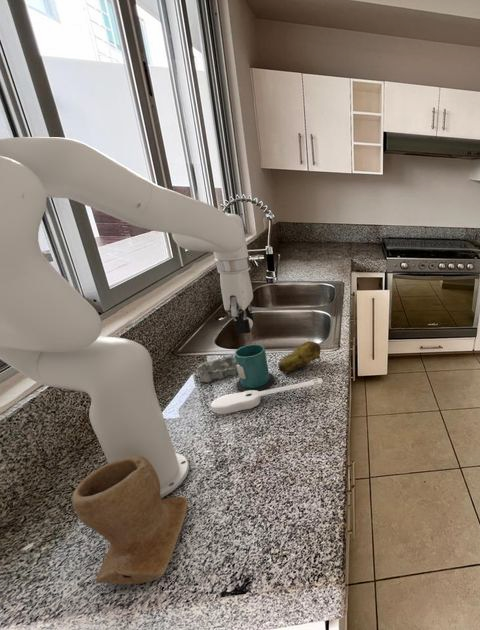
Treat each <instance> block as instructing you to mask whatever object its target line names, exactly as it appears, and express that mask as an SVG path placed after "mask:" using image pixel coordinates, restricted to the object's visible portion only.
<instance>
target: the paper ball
mask: <svg viewBox="0 0 480 630" xmlns="http://www.w3.org/2000/svg"><path fill="white" fill-rule="evenodd" d="M247 319H248V320H249V325H250V330H251V329H252V328H253V327H254V326H253V321H252V320H251V319H250V318H248V317H247Z"/></svg>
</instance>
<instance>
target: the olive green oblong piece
mask: <svg viewBox="0 0 480 630" xmlns="http://www.w3.org/2000/svg"><path fill="white" fill-rule="evenodd" d="M321 351H322V349H321V345H320V344H319V343H318V342H315V341H306V342H303V343H302V344H301V345H298V346H297V348H295V349H294V350H293V351H292V352H291V353H290V354H287V355H286V356H285V357H283V358H282V359H280V361H279V362H278V370H279V371H280V372H282V373H291V372H292V371H295V370H298V369H301V368H304V367H305V366H307V365H309V364H310V363H311V362H313V361H316V360H318V359H320V357H321V356H320V355H321Z"/></svg>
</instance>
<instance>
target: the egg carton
mask: <svg viewBox="0 0 480 630" xmlns="http://www.w3.org/2000/svg"><path fill="white" fill-rule="evenodd" d="M196 369H197V375H198V376H199V378H200V382H201V383H210V382H212V381H213V380H216V379H220V380H221V379H224V378H225V377H226V376H229V375H230V376H236V375H237V374H238V370H237V364H236V359H235V354H231V355H229V356H227V357H223V358H218V359H214V360H211V361H204V362H203V361H202V362H201V363H200V364H198V366H197V367H196Z"/></svg>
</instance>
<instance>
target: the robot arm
mask: <svg viewBox="0 0 480 630" xmlns="http://www.w3.org/2000/svg"><path fill="white" fill-rule="evenodd" d="M47 198H54V199H55V198H56V199H66V200H67V199H68V200H71V201H75V202H77V203H80V204H82V205H84V206H87V207H89V208H92V209H94V210H97V211H99V212H101V213H103V214H105V215H108V216H110V217H113V218H115V219H118V220H120V221H122V222H124V223H127V224H129V225H132V226H133V227H138V228H141V229H145V230H149V231H153V232H160V233H166V234H171V237H172V239H173V241H174V243H175V244H176V245H177V246H178V247H181V248H182V249H184V250H187V251H190V252H191V251H192V252H202V253H203V252H204V253H213V256H214V260H215V265H216V270H217V273H218V274H219V281H220V289H221V290H220V291H221V297H222V304H223V308H224V310H225V311H226V312H229V311H231V313H230V315H231V317H232V318H233V321H234V324H235V328H236V334H240V335H241V334H250V333H251V329H250V325H249V320H248V319H247V317H248V318H250V319H251V320H252V321H253V326H252V327H254V326H255V321H254V320H255V319H254V315H253V309H252V304H251V303H252V301H253V300H254V292H253V286H252V282H251V277H250V276H251V275H250V272H249V271H250V270H251V263H250V256H249V251H248V246H247V239H246V235H245V228H244V223H243V219H242V217H241V216H240V215H239V214H236V213H227V212H224V211H223V210H221V209H219V208H217V207H216V206H213V205H211V204H208V203H206V202H204V201H202V200H199V199H197V198H193V197H190V196H187V195H185V194H182V193H180V192H177V191H175V190H172V189H169V188H166V187H163V186H161V185H158V184H156V183H154V182H152V181H150V180H149V179H148V178H145V177H144V176H143V175H140V174H138V173H137V172H135V171H133V170H132V169H130V168H128V167H127V166H125V165H123V164H122V163H120V162H118V161H117V160H115V159H114V158H112V157H110V156H108V155H107V154H105V153H103V152H102V151H100V150H98V149H96V148H94V147H93V146H90V145H88V144H86V143H85V142H82V141H80V140H77V139H73V138H69V137H68V138H67V137H55V136H16V137H15V136H14V137H5V138H0V360H1V361H2V362H3V363H5V364H6V365H8V366H9V367H10V368H11V367H12V368H13V369H14V370H16V371H17V372H19V373H20V374H21V375H23V376H25V377H26V378H28V379H30V380H31V381H34V382H35V383H38V384H40V385H42V386H46V387H50V388H55V389H63V390H70V391H75V392H82V393H86V394H87V395H88V396H89V397H90V406H89V410H88V411H89V412H88V417H89V422H90V424H91V425H90V426H91V428H92V430H93V432H94V434H95V436H96V438H97V440H98V444H99V445H100V447H101V450H102V452H103V455H104V456H105V459H106V461H107V464H108V463H110V462H112V461H115V460H118V459H120V458H124V457H128V456H141V457H144V458H146V459H147V460H148V461H149V462H150V463H151V465H152V466H153V468H154V470H155V471H156V473H157V476H158V479H159V481H160V495H161V499H164V498H165V497H166V496H168V495H169V494H171V493H172V492H173V491H175V490H176V489H177V488H178V487H179V486H180V485H182V483H183V482H184V480H185V479H186V478H187V476H188V475H189V471H190V463H189V461H188V458H187V457H186V456H185V455H183V454H182V453H177V452H175V447H174V445H173V441H172V439H171V436H170V433H169V430H168V427H167V423H166V420H165V418H164V415H163V414H164V413H163V411H162V408H161V406H160V402H159V399H158V397H157V393H156V389H155V384H154V376H153V375H154V370H153V359H152V356H151V354H150V352H149V351H148V349H147V348H146V347H145V346H144V345H142V344H140V343H139V342H137V341H134V340H132V339H128V338H123V337H117V336H107V335H101V334H102V330H103V323H102V319H101V316H100V314H99V313H98V311H97V310H96V308H95V307H94V306H93V305H92V304H91V303H90V302H89V301H88V300H87V299H86V298H85V297H84V296H83V295H82V294H81V293H80V292H79V291H78V290H77V289H76V288H75V287H74V286H73V285H72V284H71V283H70V282H69V281H68V280H67V279H66V278H65V277H64V276H63V275H62V274H60V272H59V271H57V269H56V268H55V267H54V266H53V265H52V264H51V263H50V261H49V260H48V259H47V257H46V256H45V254H44V253H43V251H42V249H41V247H40V242H39V232H40V227H41V223H42V220H43V217H44V215H45V211H46V207H47Z"/></svg>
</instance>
